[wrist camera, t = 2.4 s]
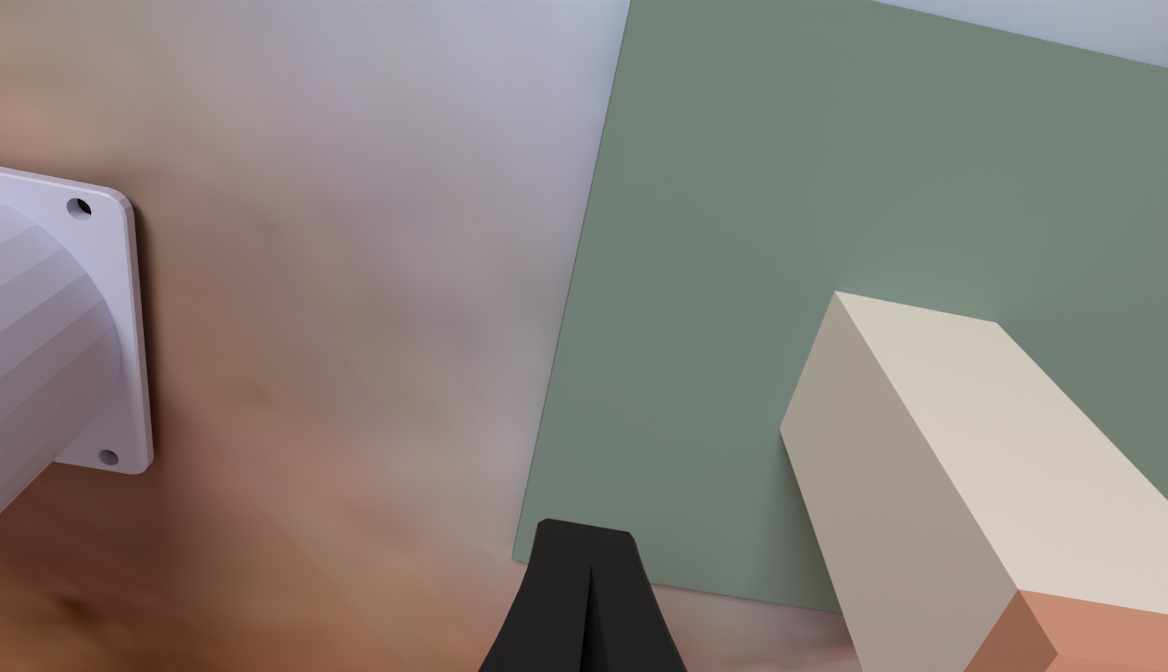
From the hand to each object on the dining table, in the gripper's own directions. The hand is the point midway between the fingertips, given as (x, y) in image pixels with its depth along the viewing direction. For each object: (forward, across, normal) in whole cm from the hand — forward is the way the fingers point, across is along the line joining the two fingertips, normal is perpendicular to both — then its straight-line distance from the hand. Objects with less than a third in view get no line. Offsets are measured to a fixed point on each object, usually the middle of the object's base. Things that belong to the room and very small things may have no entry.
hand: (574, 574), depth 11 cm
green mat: (+8, -10, 0) cm, 13 cm away
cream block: (+8, -8, 0) cm, 11 cm away
